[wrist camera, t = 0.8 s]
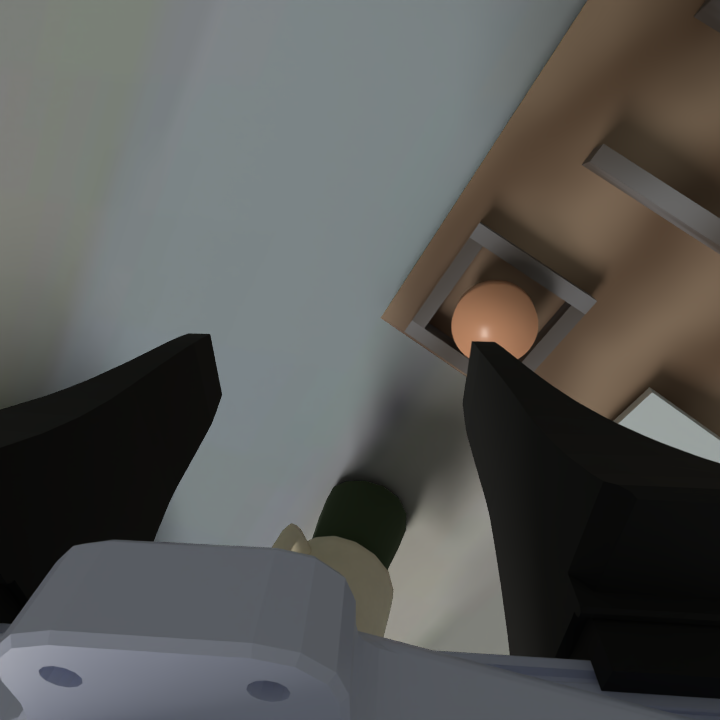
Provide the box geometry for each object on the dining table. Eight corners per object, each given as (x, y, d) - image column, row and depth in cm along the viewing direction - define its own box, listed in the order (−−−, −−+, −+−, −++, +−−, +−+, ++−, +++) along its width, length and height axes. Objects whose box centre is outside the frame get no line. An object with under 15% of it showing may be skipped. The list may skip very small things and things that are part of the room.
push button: (553, 309, 22) (557, 316, 20) (501, 370, 23) (502, 380, 22) (485, 263, 22) (484, 268, 20) (438, 327, 23) (435, 335, 22)
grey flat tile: (741, 452, 22) (747, 460, 21) (681, 497, 23) (685, 507, 22) (649, 387, 23) (652, 392, 22) (598, 434, 24) (599, 441, 23)
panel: (1015, 181, 18) (1143, 177, 15) (643, 484, 27) (666, 528, 23) (628, -58, 19) (659, -117, 16) (388, 310, 28) (372, 326, 24)
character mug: (297, 460, 34) (192, 599, 22) (378, 436, 31) (307, 579, 19) (358, 572, 36) (291, 753, 24) (439, 558, 33) (408, 755, 21)
